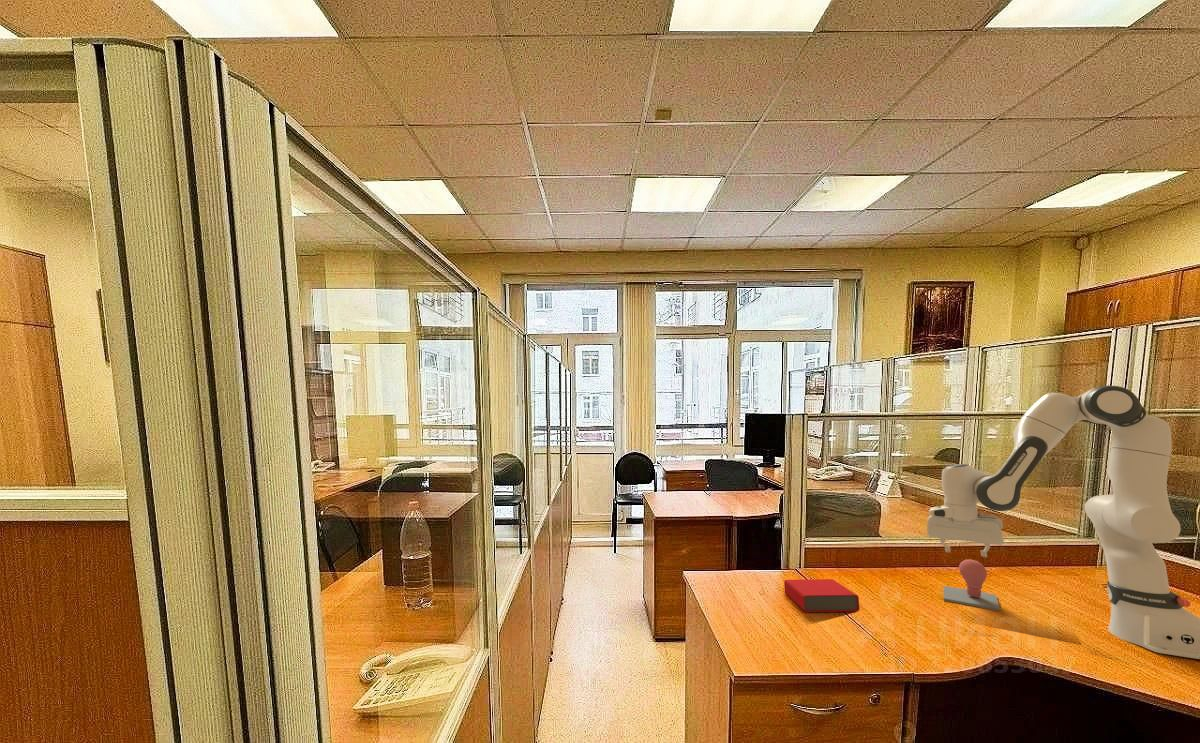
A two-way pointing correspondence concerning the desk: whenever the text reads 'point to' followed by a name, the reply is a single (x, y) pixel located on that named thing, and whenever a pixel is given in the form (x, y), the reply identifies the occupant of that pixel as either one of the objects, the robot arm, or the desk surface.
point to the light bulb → (973, 576)
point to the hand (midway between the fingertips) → (965, 554)
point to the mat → (970, 598)
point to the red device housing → (821, 595)
